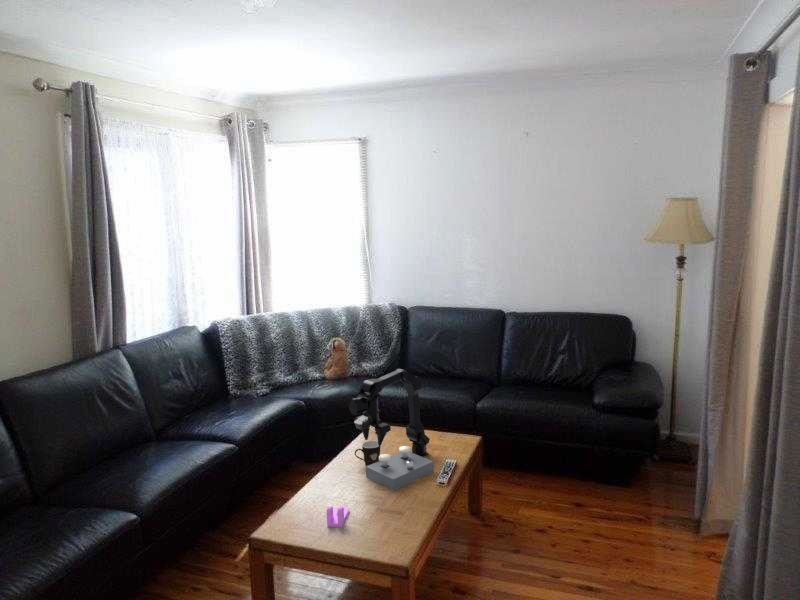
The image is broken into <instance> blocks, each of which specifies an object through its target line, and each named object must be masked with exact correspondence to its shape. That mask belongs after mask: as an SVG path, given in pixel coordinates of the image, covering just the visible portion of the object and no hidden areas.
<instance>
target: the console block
mask: <svg viewBox="0 0 800 600" xmlns="http://www.w3.org/2000/svg"><path fill="white" fill-rule="evenodd" d="M407 454H408V457H407V458H402V453H400V452H398V453H394V454H392V455H390V456H391V460H390V461H388V466H387V467H383V466H382V462H381V461H378V462H376V463H373V464H371V465H368V466H365V478H367V479H369V480H371V481H373V482H375V483H378V484H379V485H381V486H384V487H385V488H388V489H389V490H391V491H393V492H394V491H396V490H398V489H400V488H402V487H404V486H407V485H409V484H411V483H414V482H415V481H417V480H420V479H421V478H425V476H428V475H430V474H432V473H434V461H433V460H431V459H428V458H426V457H425V456H423V457H421V456H419V455H416V454H414V453H412V451H410V452H409V453H407ZM409 458H410V460H411V461H413V469H412V470H407V469H406V461H409Z"/></svg>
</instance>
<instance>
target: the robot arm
mask: <svg viewBox="0 0 800 600" xmlns="http://www.w3.org/2000/svg"><path fill="white" fill-rule="evenodd" d="M398 381H401V382H402V383H403V388H404V390H405V391H406V393H407V399H408V400H407V401H408V402H407V403H408V415H409V416H408V417H409V424H408V426H406V427H405V435H406V436H407V438H408V439H409V442H412V444H411V445H412V446H411V453H414V454H416V455H419V456H421V457H425V456H428V455H430V453H429V452H427V445H428V444H429V443H430V437H429V436H427V435H426V432H425V428H424V426H423V425H422V424H423V423H421V422H422V421H421V415H420V414H421V413H420V412H421V411H420V397H419V393H420V391H421V390H422V384H423V383H422V379H421V377H420V376H417V375H414V374H412V373H410V372H409V371H407V370H405V369H403V368H396V369H395V370H394V371H392V372H389V373H387V374H385V375H382V376H380V377H378V378H369V379H366V380H363V382H362V385H361V387H360V389H359V391H358V393H357V395H356V396H357V397H355V398H351V402H349V404H348V409H349V412H350V414H351V415H352V416H355V415H358V414H361V413H362V415H359V416H355V418H354V422H353V423H354V426H355V428H356V429H357V430H360V431H361V433H362V435H363V438H364V439H365V441H369V440H368V439H369V436H370V435H369V433H370V427H373V428H374V431H375V432H374V434H375V435H376V436H377V441H378V445H379V446H380V445H381V446H382V444H383V441H384V439H385V437H386V435H387V433H389V432H390V431H391V430H392V427H391V425H390V424H389V423H387V422H382V423H381V419H380V418H379V414H380V413H381V410H379V398H382V395H381V394H380V393H381V392H382V391H383V389H384V388H386V387H387V386H391V385H393V384H394V383H397V382H398ZM381 446H380V447H381Z"/></svg>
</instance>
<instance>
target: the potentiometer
mask: <svg viewBox="0 0 800 600" xmlns="http://www.w3.org/2000/svg"><path fill="white" fill-rule="evenodd" d="M406 469H407V470H412V469H413V461H411V460H410V458H409V461H406Z"/></svg>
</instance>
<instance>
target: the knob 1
mask: <svg viewBox="0 0 800 600" xmlns="http://www.w3.org/2000/svg"><path fill="white" fill-rule="evenodd" d="M391 456H392V455H391V454H390V453H389V454H387V453H383V454H382V453H381V454H380V455H379V461H381V462H382V466H383V467H387V466H388V461H390V460H391Z"/></svg>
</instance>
